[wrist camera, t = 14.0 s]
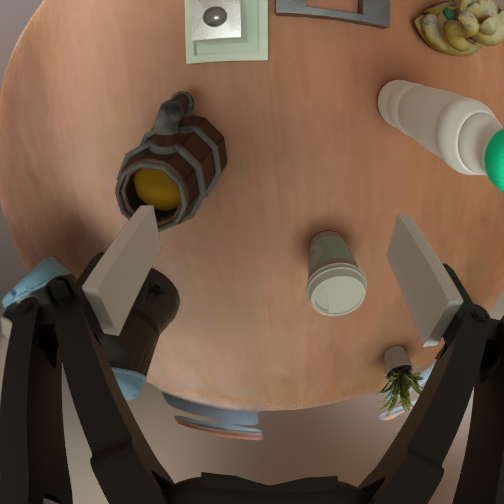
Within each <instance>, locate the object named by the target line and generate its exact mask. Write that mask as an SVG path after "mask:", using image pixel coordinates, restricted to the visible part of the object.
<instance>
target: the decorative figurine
mask: <svg viewBox="0 0 504 504" xmlns="http://www.w3.org/2000/svg"><path fill="white" fill-rule="evenodd" d="M423 14H424V15H420V16H419V17H417V19H415V20H414V24H415V26H416V28H417V30H418V32H419V33H420V35H421V37H422V38H423V39H424V41H425V42H426V43H427V44H428V45H429V46H430V47H432V48H433V49H435V50H437V51H439V52H442V53H446V54H449V55H454V56H469V55H472V54H474V53H476V52H478V50H479V49H480V48H481V47H482V45H485V46H495V45H497V44H499V43H501V42H502V41H503V40H504V9H503V10H502V11H501V9H500V8H499V7H498V6H497V4H495V3H494V2H493V1H492V0H448V1H443V2H440V3H437V4H434V5H432V6H430V7H429V8H427V9H426V10H424V11H423Z"/></svg>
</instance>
